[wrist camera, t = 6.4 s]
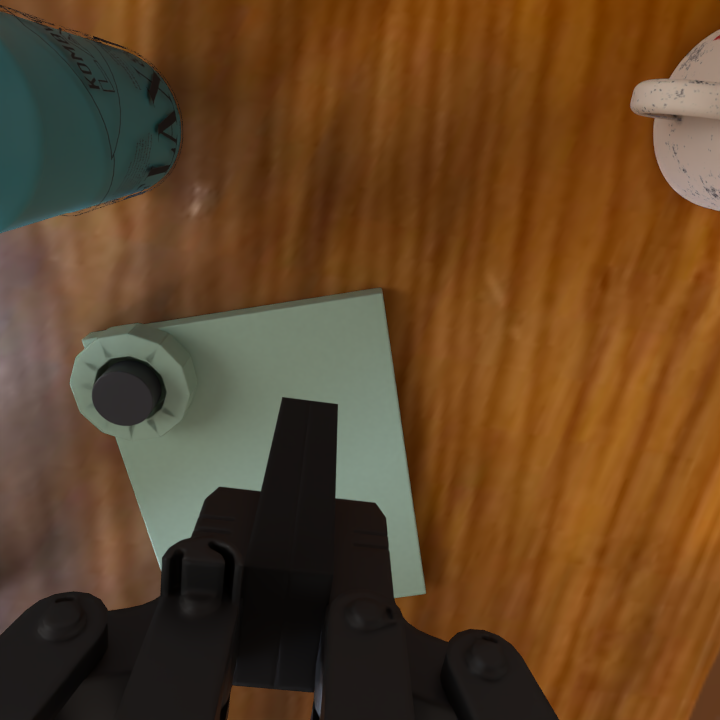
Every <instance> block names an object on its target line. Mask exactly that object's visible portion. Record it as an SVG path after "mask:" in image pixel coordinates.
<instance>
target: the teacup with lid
mask: <svg viewBox="0 0 720 720" xmlns="http://www.w3.org/2000/svg"><path fill="white" fill-rule="evenodd" d="M630 107H631V110H632V111H633V112H634V113H636V114H638V115H641V116H646V117H651V118H655V120H654V130H653V140H654V149H655V155H656V159H657V162H658V165H659V167H660V170H661V172H662V174H663V176H664V177H665V179H666V180H667V182H668V183H669V184H670V186H671V187H672V188H673V189H674V190H675V191H676V192H677V193H678V194H680V195H681V196H682V197H684V198H685V199H687V200H689V201H690V202H692V203H694V204H697V205H699V206H702V207H706V208H709V209H713V210H717V211H720V29H719V30H717V31H716V32H714V33H712V34H711V35H709V36H708V37H706V38H705V39H704V40H702V41H701V42H700V43H699V44H697V45H696V46H695V47H694V48H693V49H692V50H691V51H690V52H689V53H688V54H687V55H686V56H685V57H684V59H683V60H682V61H681V62H680V63H679V65H678V66H677V67H676V69H675V70H674V72H673V73H672V75H671V77H670V78H669V79H652V80H646V81H643V82H641V83H639V84H638V85H637V86H636V87H635V89H634V91H633V95H632V99H631V103H630Z"/></svg>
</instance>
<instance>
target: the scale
mask: <svg viewBox="0 0 720 720" xmlns="http://www.w3.org/2000/svg"><path fill="white" fill-rule="evenodd" d="M82 342H83V345H84V348H85V349H84V350H83V351H82V352H81V353H79V354H78V355H77V357H76V358H75V362H74V366H73V371H72V375H71V379H70V386H71V389H72V392H73V395H74V397H75V400H76V403H77V406H78V408H79V410H80V413H81V414H82V415H84V416H85V417H86V418H87V419H88V420H89V421H90V422H91V423H92V424H93V425H95V426H96V427H97V428H98V429H99V430H100V431H101V432H103V433H106V434H109V435H112V436H115V438H116V441H117V444H118V446H119V449H120V452H121V455H122V458H123V461H124V464H125V467H126V470H127V473H128V475H129V478H130V481H131V484H132V487H133V490H134V493H135V496H136V499H137V502H138V505H139V507H140V510H141V513H142V516H143V519H144V522H145V525H146V528H147V531H148V534H149V536H150V539H151V542H152V545H153V548H154V551H155V554H156V557H157V560H158V563H159V566H160V568H161V571H162V557H163V555H164V554H165V553H166V551H167V550H168V548H169V547H171V546H172V545H174V544H176V543H177V542H179V541H180V540H183V539H187V538H191V536H192V533H193V531H194V528H195V525H196V522H197V519H198V518H199V514H200V511H201V509H202V506H203V503H204V500H205V499H206V498H207V497H208V496H209V495H210V494H211V493H213V492H214V491H215V490H216V489H217V488H218V487H228V488H237V489H246V490H254V491H261V488H262V484H263V480H264V475H265V471H266V466H267V462H268V458H269V453H270V449H271V444H272V440H273V436H274V431H275V427H276V423H277V418H278V414H279V409H280V405H281V401H282V397H286V398H294V399H302V400H310V401H318V402H326V403H334V404H338V425H337V461H336V497H335V498H339V499H347V500H356V501H365V502H374V503H376V504H377V505H378V507H379V508H380V510H381V511H382V513H383V514H384V515H385V517H386V522H387V532H388V535H387V537H388V542H389V552H390V562H391V572H392V582H393V592H394V598H399V597H406V596H413V595H420V594H426V589H425V582H424V575H423V568H422V561H421V554H420V547H419V540H418V533H417V526H416V519H415V512H414V506H413V499H412V492H411V485H410V478H409V471H408V464H407V457H406V450H405V443H404V436H403V429H402V423H401V416H400V409H399V402H398V395H397V388H396V381H395V374H394V367H393V360H392V353H391V346H390V340H389V333H388V326H387V319H386V312H385V305H384V298H383V292H382V288H374V289H368V290H361V291H355V292H348V293H342V294H335V295H329V296H323V297H316V298H310V299H303V300H297V301H290V302H284V303H278V304H271V305H265V306H258V307H252V308H245V309H239V310H233V311H226V312H220V313H213V314H207V315H200V316H194V317H188V318H181V319H175V320H168V321H162V322H155V323H149V324H142V323H134V324H127V325H121V326H115V327H110V328H108V329H107V330H104V331H98V332H91V333H90V334H88V335H87V336H86V337H85V338H84V339H82ZM125 360H132V361H137V362H140V363H143V364H145V365H147V366H148V367H149V368H151V369H152V370H153V371H154V372H155V374H156V375H157V377H158V378H159V381H160V384H161V397H160V399H159V401H158V403H157V404H156V406H155V407H154V409H153V410H152V412H151V413H150V415H149V416H148V417H147V418H146V419H145V420H144V421H143V422H141V423H139V424H136V425H132V426H120V425H116V424H113V423H111V422H109V421H107V420H106V419H104V418H103V417H102V416H101V415H100V414H99V413H98V412H97V410H96V409H95V407H94V405H93V401H92V389H93V386H94V384H95V382H96V381H97V380H98V378H99V377H100V376H101V375H102V374H103V373H104V372H105V371H106V370H107V369H108V368H109V367H110V366H111V365H113V364H115V363H117V362H119V361H125Z"/></svg>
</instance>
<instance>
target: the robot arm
mask: <svg viewBox="0 0 720 720" xmlns="http://www.w3.org/2000/svg"><path fill="white" fill-rule="evenodd" d="M337 425H338V404H334V403H326V402H318V401H310V400H302V399H294V398H286V397H282V401H281V405H280V409H279V414H278V418H277V423H276V427H275V431H274V436H273V440H272V444H271V449H270V453H269V458H268V462H267V466H266V471H265V475H264V480H263V484H262V488H261V491H254V490H246V489H237V488H228V487H218V488H217V489H216V490H215V491H214V492H213V493H211V494H210V495H209V496H208V497H207V498H206V499H205V500H204V503H203V506H202V509H201V511H200V514H199V518H198V519H197V522H196V525H195V528H194V531H193V533H192V536H191V538H187V539H183V540H180V541H179V542H177V543H176V544H174V545H172V546H171V547H169V548H168V550H167V551H166V553H165V554H164V555H163V557H162V571H161V596H159V597H158V598H156V599H155V600H153V601H150V602H148V603H146V604H143V605H139V606H135V607H131V608H125V609H118V610H112V611H108V610H107V608H106V606H105V605H104V604H103V602H102V601H101V599H99V598H97V597H95V596H93V595H91V594H89V593H82V592H74V591H73V592H66V593H59V594H54V595H52V596H49V597H47V598H44V599H42V600H39V601H38V602H37V603H35V604H34V605H33V606H31V607H30V608H28V609H27V610H26V611H25V612H24V613H23V614H22V615H21V616H20V617H19V618H18V619H17V620H15V621H14V622H13V623H12V624H11V625H10V626H9V627H8V628H7V629H6V630H5V631H4V632H3V633H2V634H1V635H0V720H227V718H228V712H229V702H230V692H231V687H232V685H235V686H246V687H257V688H268V689H280V690H291V691H302V692H313V693H314V702H313V708H312V714H311V720H559V719H558V717H557V715H556V714H555V712H554V710H553V709H552V707H551V705H550V704H549V702H548V700H547V699H546V697H545V695H544V694H543V692H542V690H541V689H540V687H539V685H538V683H537V682H536V680H535V678H534V677H533V675H532V673H531V672H530V670H529V668H528V667H527V665H526V663H525V662H524V660H523V658H522V656H521V655H520V654H519V653H518V652H517V650H516V649H515V648H514V647H513V646H512V644H510V643H509V642H507V641H506V640H504V639H503V638H501V637H500V636H499V635H496V634H493V633H490V632H488V631H485V630H474V629H469V630H465V631H462V632H459V633H457V634H456V635H455V636H454V637H453V638H452V639H451V640H450V641H449V642H446V641H444V640H441V639H438V638H436V637H433V636H430V635H428V634H426V633H424V632H422V631H419V630H418V629H416V628H415V627H413V626H412V625H411V624H409V623H408V622H407V621H406V620H405V619H404V618H403V616H402V613H401V611H400V609H399V607H398V606H397V605H396V603H395V600H394V592H393V582H392V572H391V562H390V552H389V542H388V537H387V535H388V532H387V522H386V517H385V515H384V514H383V513H382V511H381V510H380V508H379V507H378V505H377V504H376V503H374V502H365V501H356V500H347V499H339V498H335V497H336V461H337ZM314 688H315V690H314Z"/></svg>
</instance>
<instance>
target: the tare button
mask: <svg viewBox="0 0 720 720" xmlns="http://www.w3.org/2000/svg"><path fill="white" fill-rule="evenodd" d="M160 397H161V384H160V381H159V378H158V377H157V375H156V374H155V372H154V371H153V370H152V369H151V368H149V367H148V366H147V365H145V364H143V363H140V362H137V361H132V360H125V361H119V362H117V363H115V364H113V365H111V366H110V367H109V368H108V369H107V370H106V371H105V372H104V373H103V374H102V375H101V376H100V377H99V378H98V380H97V381H96V382H95V384H94V386H93V389H92V401H93V405H94V407H95V409H96V410H97V412H98V413H99V414H100V415H101V416H102V417H103V418H104V419H106V420H107V421H109V422H111V423H113V424H116V425H120V426H132V425H136V424H139V423H141V422H143V421H144V420H145V419H146V418H147V417H148V416H149V415H150V413H151V412H152V410H153V409H154V407H155V406H156V404H157V403H158V401H159V399H160Z"/></svg>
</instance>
